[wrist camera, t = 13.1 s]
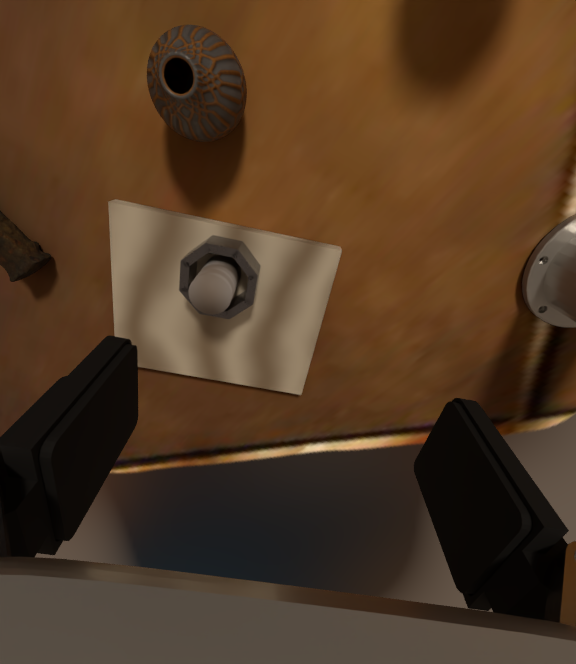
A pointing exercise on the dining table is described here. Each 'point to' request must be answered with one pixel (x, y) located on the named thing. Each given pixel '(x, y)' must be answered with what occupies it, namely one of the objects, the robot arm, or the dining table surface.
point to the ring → (224, 248)
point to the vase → (196, 83)
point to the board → (212, 338)
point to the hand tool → (19, 251)
